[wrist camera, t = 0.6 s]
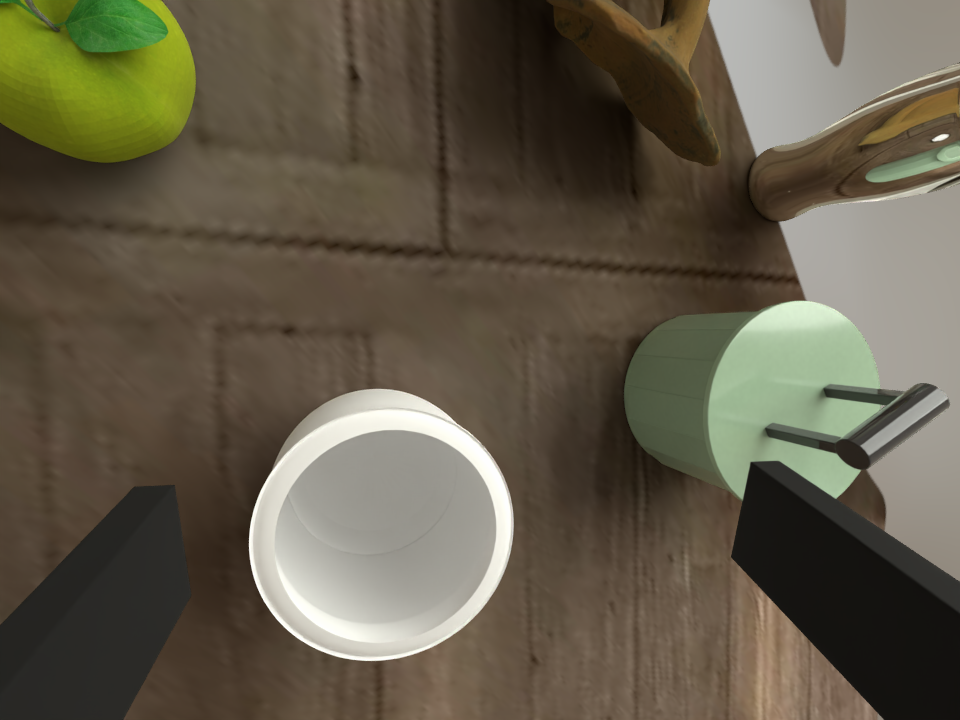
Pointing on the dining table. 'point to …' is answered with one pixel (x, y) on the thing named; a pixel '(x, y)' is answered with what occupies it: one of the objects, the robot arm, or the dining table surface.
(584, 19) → the brown looped sculpture
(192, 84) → the fruit
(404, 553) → the jar
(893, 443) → the pot lid
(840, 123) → the beer glass
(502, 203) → the dining table surface
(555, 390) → the dining table surface
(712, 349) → the pot
